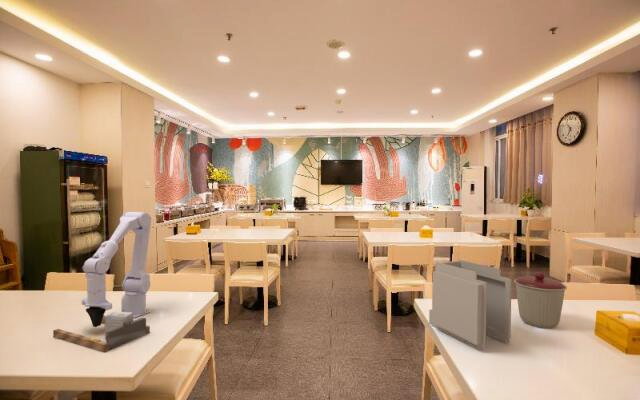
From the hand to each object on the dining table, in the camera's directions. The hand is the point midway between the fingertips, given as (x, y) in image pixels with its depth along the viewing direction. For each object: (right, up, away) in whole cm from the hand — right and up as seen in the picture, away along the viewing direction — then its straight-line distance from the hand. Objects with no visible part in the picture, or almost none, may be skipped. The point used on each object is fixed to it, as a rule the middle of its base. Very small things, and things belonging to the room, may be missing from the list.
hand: (96, 325), depth 124 cm
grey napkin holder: (+139, -4, 0) cm, 139 cm away
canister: (+174, -4, +12) cm, 174 cm away
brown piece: (+4, -2, -3) cm, 5 cm away
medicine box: (+11, -3, -5) cm, 12 cm away
